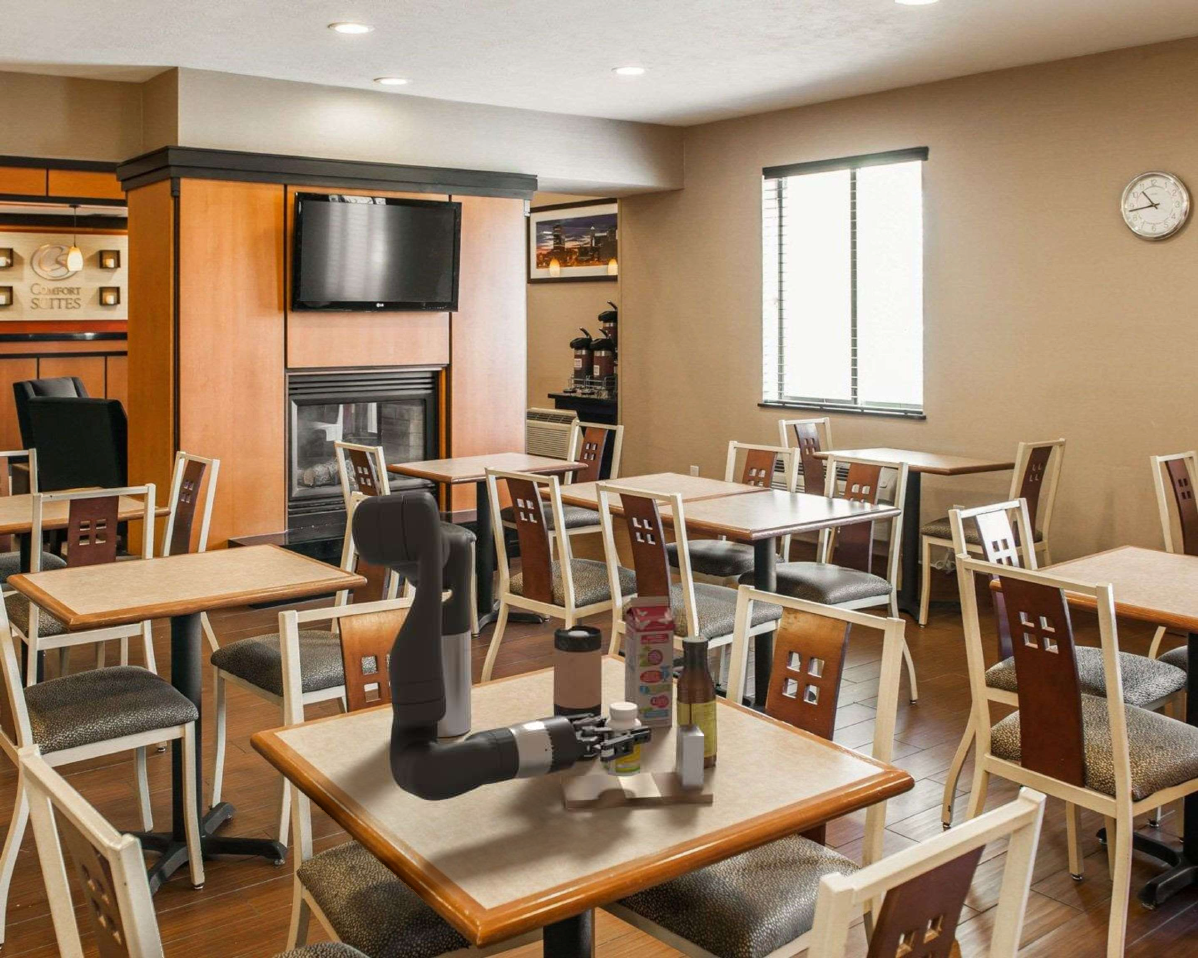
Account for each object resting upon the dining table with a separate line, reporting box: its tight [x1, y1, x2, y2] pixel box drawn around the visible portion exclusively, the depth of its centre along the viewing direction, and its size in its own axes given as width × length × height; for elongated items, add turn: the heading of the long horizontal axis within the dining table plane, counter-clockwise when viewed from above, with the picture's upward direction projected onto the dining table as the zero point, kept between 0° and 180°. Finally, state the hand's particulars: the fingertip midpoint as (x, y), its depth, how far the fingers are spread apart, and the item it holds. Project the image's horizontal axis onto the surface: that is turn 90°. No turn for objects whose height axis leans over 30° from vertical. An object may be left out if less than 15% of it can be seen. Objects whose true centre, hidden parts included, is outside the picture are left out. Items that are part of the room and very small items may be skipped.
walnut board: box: [559, 771, 714, 810], centre depth 168 cm, size 21×9×1 cm, turn 98°
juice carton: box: [624, 595, 675, 729], centre depth 198 cm, size 7×7×22 cm
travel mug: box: [552, 624, 603, 762], centre depth 183 cm, size 8×8×20 cm
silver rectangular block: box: [675, 724, 704, 790], centre depth 168 cm, size 3×5×8 cm, turn 8°
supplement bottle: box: [603, 701, 642, 777], centre depth 166 cm, size 5×5×10 cm
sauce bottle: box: [675, 635, 718, 769], centre depth 179 cm, size 6×6×20 cm
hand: (637, 727), depth 168 cm, fingers closed on supplement bottle, 5 cm apart
